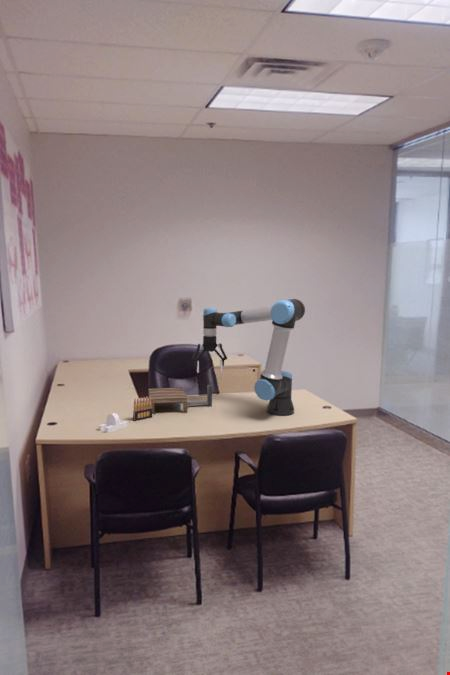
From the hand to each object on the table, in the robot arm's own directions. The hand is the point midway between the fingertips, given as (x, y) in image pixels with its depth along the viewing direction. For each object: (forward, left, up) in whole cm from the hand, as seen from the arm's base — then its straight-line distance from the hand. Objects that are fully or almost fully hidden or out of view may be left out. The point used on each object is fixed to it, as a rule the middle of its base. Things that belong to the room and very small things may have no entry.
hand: (209, 371), depth 289 cm
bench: (0, +24, -20) cm, 32 cm away
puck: (0, +19, -20) cm, 28 cm away
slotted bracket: (-32, +54, -20) cm, 66 cm away
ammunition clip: (-19, +39, -20) cm, 48 cm away
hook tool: (0, +6, -20) cm, 21 cm away
